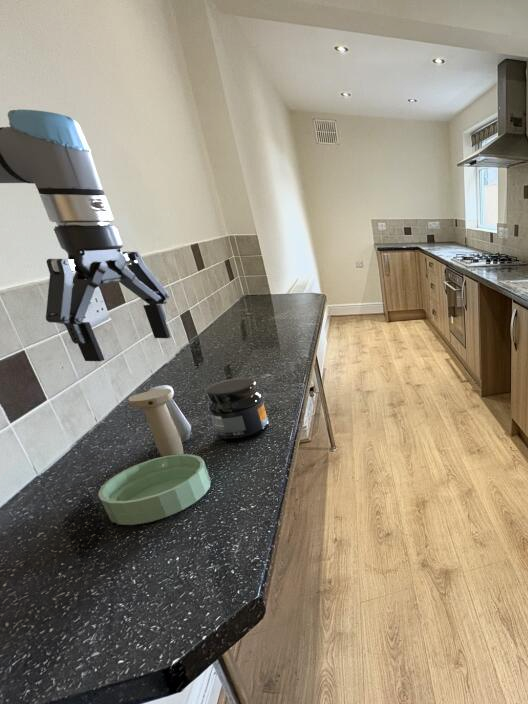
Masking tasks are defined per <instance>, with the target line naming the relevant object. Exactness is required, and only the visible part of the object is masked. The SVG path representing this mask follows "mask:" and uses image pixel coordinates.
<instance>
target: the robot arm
mask: <svg viewBox="0 0 528 704" xmlns="http://www.w3.org/2000/svg"><path fill="white" fill-rule="evenodd" d="M7 119H8V121H9V122H8V125H9V126H2V127H1V126H0V184H34V185H35V188H36V189H37V191H38V194H39V197H40V200H41V201H42V204H43V208H44V209H45V212H46V214H47V217H48V220H49V222H52V223H55V224H56V225H55V226H54V228H53V231H54V234H55V236H56V238H57V241H58V243H59V246H60V248H61V249H62V250H63V251H65V252H66V254H67V258H48V259H46V265H47V269H48V272H49V281H48V292H47V300H46V301H47V302H46V311H45V320H46V321H47V322H48V323H55V324H58V325H59V324H61V325H64V327H65V328H66V330H67V333H68V335H69V337H70V340H71V341H72V343H73V344H74V345H75V344H77V346H78V348H79V350H80V353H81V354H82V358H83V360H84V362H102V361H105V357H104V354H103V352H102V350H101V347H100V345H99V342H98V340H97V337H96V335H95V332H94V329H93V328H92V325H91V323H90V322H89V321H84V319H85V316H86V314H87V311H88V308H89V306H90V303H91V301H92V298H93V296H94V293H95V290H96V289H97V288H99V286H100V285H101V284H109V283H110V282H118V283H120V284H121V285H122V286H124V287H125V288H126V289H128V290H129V291H130V292H132V293H133V294H134V295H136V296H137V297H138V298H140V299H141V300H142V301H144V302H145V303H146V304H143V310H144V312H145V315H146V319H147V320H148V323H149V326H150V329H151V332H152V335H153V337H154V339H169V338H170V339H171V337H172V336H171V334H170V330H169V328H168V325H167V322H166V320H167V315H166V313H165V309H164V306H163V305H166V304H167V303H168V299H170V294H169V292H168V291H167V290H166V288H165V287H164V286H163V285H162V284H161V282H160V281H159V280H158V279H157V278H156V276H155V275H154V274H153V272H152V271H151V270H150V269H149V267H148V266H147V265H146V264H145V262H144V259H143V256H142V255H141V253H140V252H139V251H121V249H122V248H123V247H124V244H123V241H122V238H121V236H120V232H119V229H118V227H116V226H115V225H111V222H114V220H115V219H114V216H113V214H112V210H111V207H110V205H109V202H108V199H107V196H106V193H105V191H104V189H103V186H102V183H101V179H100V177H99V174H98V171H97V168H96V165H95V162H94V158H93V156H92V155H93V154H92V150H91V148H90V147H89V144H88V142H87V140H86V137H85V135H84V133H83V131H82V128H81V126H80V123H78V122H77V120H75V119H74V118H72V117H71V116H68V115H65V114H61V113H57V112H51V111H43V110H35V109H11V110H9V111H8V112H7ZM74 272H75V273H74Z"/></svg>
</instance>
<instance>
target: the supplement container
mask: <svg viewBox="0 0 528 704" xmlns="http://www.w3.org/2000/svg"><path fill="white" fill-rule="evenodd" d="M204 394H205V396H206V399H207V400H208V401H207V403H206V409H207V410H208V413H209V416H210V419H211V422H212V425H213V428H214V432H215V436H216V437H217V439H218V440H219V441H221V442H224V443H242V442H247V441H249V440H253V439H255V438H257V437H259V436H262V435H263V434H264V433H265V432H266V431H267V430H268V428H269V426H270V421H269V419H268V415H267V412H266V411H267V410H266V409H265V404H264V400H263V394H262V393H261V392H260V391H259V390H258V385H257V381H256V380H255V379H253V378H249V377H236V378H229V379H225V380H221V381H218V382H215V383H213V384H210V385H209V386H207V387H206V388H205V390H204Z"/></svg>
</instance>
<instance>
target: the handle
mask: <svg viewBox="0 0 528 704" xmlns="http://www.w3.org/2000/svg"><path fill="white" fill-rule="evenodd" d="M173 397H174V395H173V394H172V391H171V390H170V389H160V390H153V391H148V390H147V391H144V392H139V393H137V394H133V395H131V396H130V397H129V398H128V400H127V401H128V402H129V405H130V406H131V407H133V408H138V409H141V410H143V412H144V413H145V416H146V419H147V423H148V426H149V429H150V433H151V436H152V439H153V441H154V444H155V446H156V449H157V451H158V453H159V455H161V457H164V456H169V455H177V454H185V451H184V445H183V443H182V442H181V438H180V436H179V433H178V431H177V428H176V426H175V424H174V422H173V420H172V418H171V416H170V413H169V411H168V409H167V406H166V403H167V402H168V401H170V400H171V399H173Z"/></svg>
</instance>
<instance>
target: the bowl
mask: <svg viewBox="0 0 528 704" xmlns="http://www.w3.org/2000/svg"><path fill="white" fill-rule="evenodd" d="M211 482H212V480H211V477H210V474H209V472H208V469H207V466H206V462H205V461H204V459H203V458H202V457H201V456H199V455H195V454H190V453H189V454H188V453H184V454H177V455H169V456H164V457H162V456H160V457H156V458H152V459H149V460H146V461H143V462H140V463H137V464H135V465H133V466H130V467H128V468H126V469H124V470H122V471H120V472H118V473H117V474H115V475H114V476H112V477H110V478H109V479H108V480H107V481H105V482H104V483H103V485H101V487H100V489H99V490H98V493H97V496H98V498H99V499H100V502H101V504H102V506H103V508H104V510H105V513H106V514H107V516H108V518H109V520H110V522H112V523H115V524H116V525H124V526H134V525H142V524H146V523H151V522H155V521H159V520H162V519H165V518H168V517H170V516H172V515H175V514H177V513H179V512H181V511H184V510H185V509H187V508H188V507H191V506H193V505H194V504H195V503H197V502H198V501H199V500H200V499H202V498H203V497H204V496H205V495H206V494H207V492H208V491H209V489H210V488H211V486H212V485H211Z"/></svg>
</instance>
